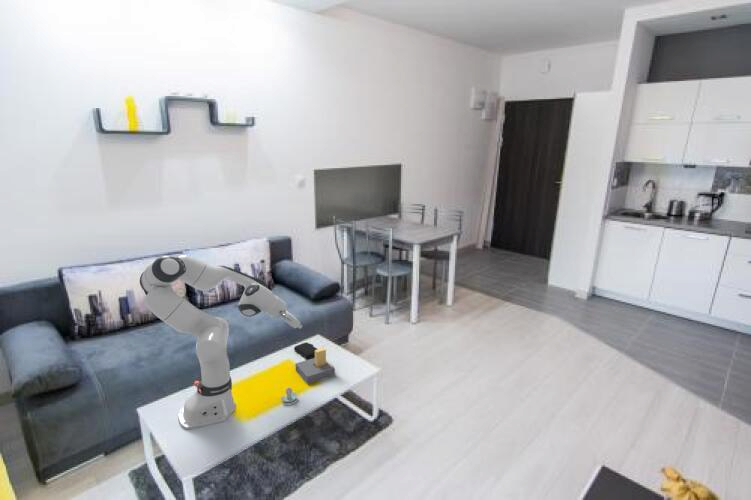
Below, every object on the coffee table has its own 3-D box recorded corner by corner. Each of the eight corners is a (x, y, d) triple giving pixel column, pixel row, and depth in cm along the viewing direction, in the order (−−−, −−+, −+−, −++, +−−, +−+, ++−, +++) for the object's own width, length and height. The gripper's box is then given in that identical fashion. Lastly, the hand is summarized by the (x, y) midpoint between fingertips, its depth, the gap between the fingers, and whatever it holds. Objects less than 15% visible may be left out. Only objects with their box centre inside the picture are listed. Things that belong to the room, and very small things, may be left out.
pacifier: (300, 402, 180) (294, 395, 184) (300, 390, 178) (294, 383, 183) (284, 408, 176) (279, 400, 180) (284, 395, 174) (279, 388, 179)
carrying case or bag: (323, 354, 221) (308, 344, 232) (323, 349, 221) (308, 340, 231) (307, 361, 214) (292, 350, 224) (307, 356, 213) (292, 345, 224)
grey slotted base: (307, 384, 193) (307, 375, 192) (295, 370, 204) (295, 362, 203) (334, 375, 201) (334, 367, 200) (322, 362, 213) (322, 354, 211)
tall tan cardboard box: (316, 373, 202) (316, 352, 199) (314, 371, 204) (314, 350, 201) (325, 371, 205) (325, 349, 202) (323, 368, 207) (323, 347, 204)
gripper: (289, 310, 175) (310, 326, 183) (273, 295, 191) (292, 310, 199) (280, 322, 174) (301, 337, 182) (264, 306, 190) (284, 320, 198)
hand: (296, 323), depth 190 cm, fingers open, 8 cm apart
